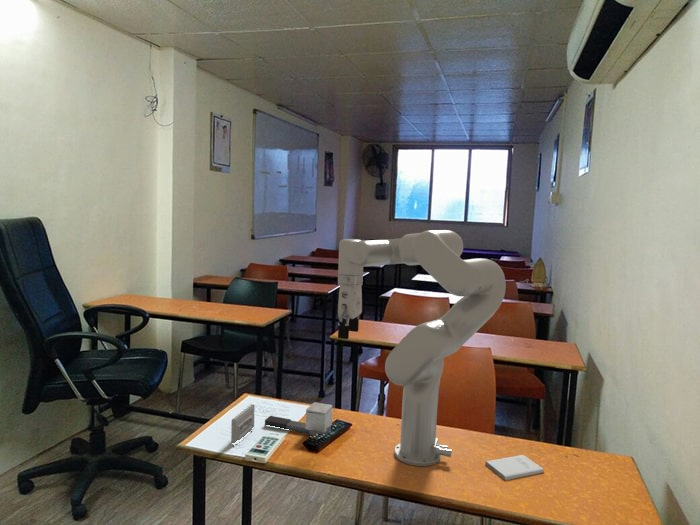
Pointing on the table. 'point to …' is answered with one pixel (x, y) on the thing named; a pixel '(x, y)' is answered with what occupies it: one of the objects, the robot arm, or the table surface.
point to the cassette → (242, 424)
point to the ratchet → (291, 425)
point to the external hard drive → (514, 467)
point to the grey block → (319, 417)
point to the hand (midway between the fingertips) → (348, 334)
